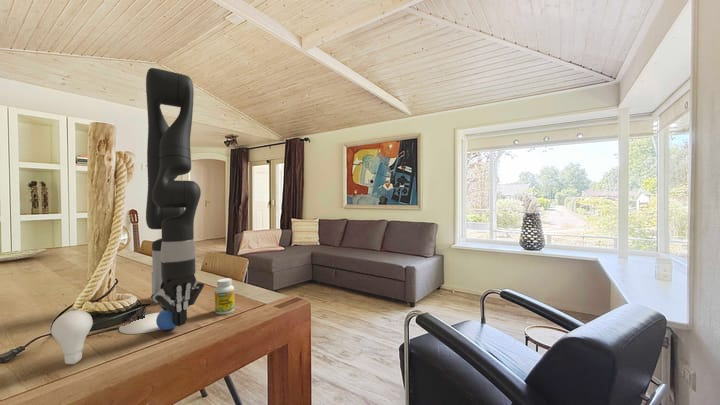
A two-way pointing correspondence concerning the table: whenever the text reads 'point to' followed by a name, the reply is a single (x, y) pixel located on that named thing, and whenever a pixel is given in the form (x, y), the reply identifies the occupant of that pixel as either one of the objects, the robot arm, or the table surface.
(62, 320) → the lightbulb
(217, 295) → the supplement bottle
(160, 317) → the ball
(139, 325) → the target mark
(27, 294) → the table surface
